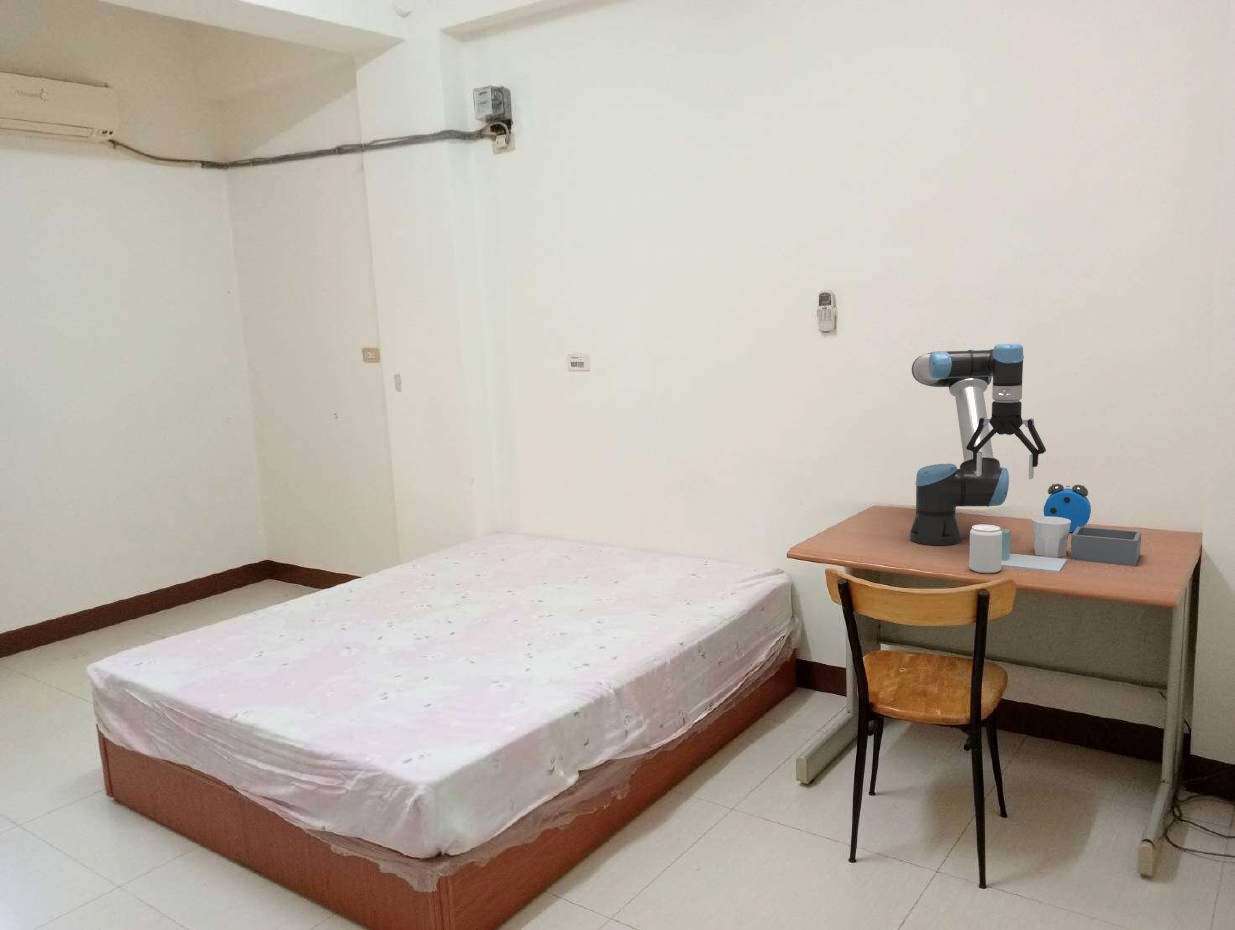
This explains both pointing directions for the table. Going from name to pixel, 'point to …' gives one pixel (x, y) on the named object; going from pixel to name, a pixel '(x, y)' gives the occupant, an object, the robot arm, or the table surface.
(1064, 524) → the cup
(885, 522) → the table surface
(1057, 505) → the alarm clock
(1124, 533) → the tub
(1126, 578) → the table surface
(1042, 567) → the pale blue stand
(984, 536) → the beverage can
